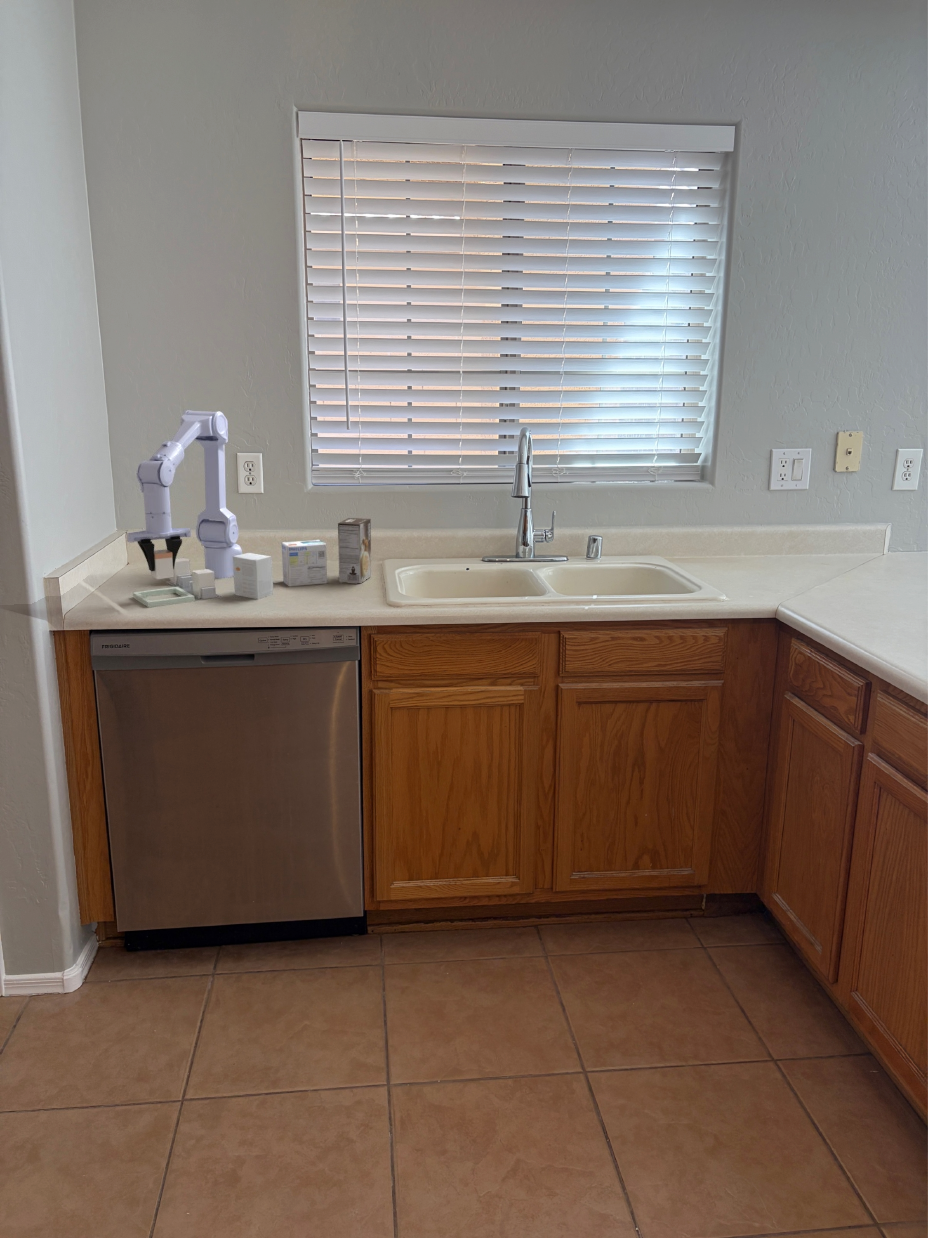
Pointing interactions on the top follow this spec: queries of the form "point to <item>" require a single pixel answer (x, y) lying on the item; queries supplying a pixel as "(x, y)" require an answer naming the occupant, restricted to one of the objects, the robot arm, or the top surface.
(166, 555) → the block
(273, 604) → the top surface
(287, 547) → the light bulb box
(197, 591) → the block
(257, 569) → the small box
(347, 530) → the coffee box
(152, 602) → the tray
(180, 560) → the block
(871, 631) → the top surface
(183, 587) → the fuse holder
